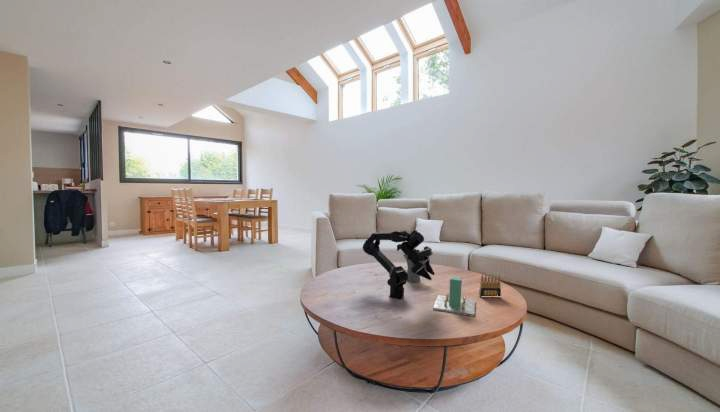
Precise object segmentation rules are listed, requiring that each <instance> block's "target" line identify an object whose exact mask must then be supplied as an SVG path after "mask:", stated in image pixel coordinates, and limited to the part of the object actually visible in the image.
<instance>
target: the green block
mask: <svg viewBox="0 0 720 412" xmlns="http://www.w3.org/2000/svg"><path fill="white" fill-rule="evenodd" d="M462 278H463V277H459V276H450V278H449V293H448V295H449V305H454V306H460V304H461V298H462V284H463V283H462V280H463V279H462Z"/></svg>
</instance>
